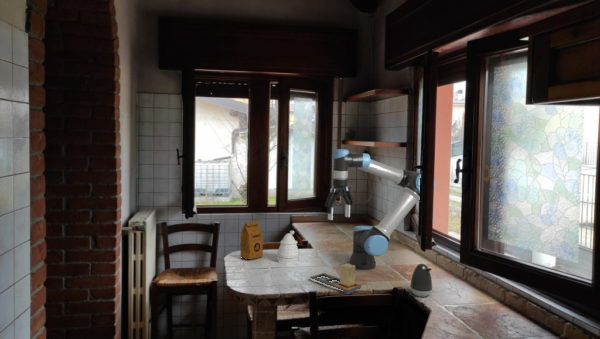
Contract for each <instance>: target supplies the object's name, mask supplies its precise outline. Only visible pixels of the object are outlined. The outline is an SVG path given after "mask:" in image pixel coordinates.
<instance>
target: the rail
mask: <svg viewBox="0 0 600 339" xmlns="http://www.w3.org/2000/svg"><path fill="white" fill-rule="evenodd" d="M321 276H325V277H328V278H329V279H323V278H321V279H320V278H317V277H321ZM311 278H312V279H315V280H317V281H320V282H322V283H325V284H327V285H330V286H333V287H336V288H338V289H341V290H343V291H344V293H343V294H346V295H348V294H353V293H355V292H356V291H355V290H357V289H360V288H361V289H362V285H361V284H358V283H357V282H355V286H353V287H350V288H346V287H343V286H340V283H335V282H333V283H331V282H329V281H332V280H337V281H339V282H340V277H337V276H333V275H331V274H328V273H326V272H323V273H320V274H316V275H313V276H310V279H311ZM354 291H355V292H354Z"/></svg>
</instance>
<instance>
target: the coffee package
mask: <svg viewBox="0 0 600 339" xmlns="http://www.w3.org/2000/svg"><path fill="white" fill-rule="evenodd" d="M259 225H260V221H259V220H256V221H251V222H245V223H244V225H243V228H241V229H242V230H241V234H240V258H241V257H242V258H241V259H243V258H245V259H244V260H247V259H251V260H255V259H254V258H257V259H259V258H258V257H261V258H263V256H264V250H263V246H264V245H263V244H264V240H263V236H262V232H261V229H260V226H259Z"/></svg>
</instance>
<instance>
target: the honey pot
mask: <svg viewBox="0 0 600 339" xmlns="http://www.w3.org/2000/svg"><path fill="white" fill-rule="evenodd" d="M294 234H295V231H294V230H289V233H286V234H285V235H284V236H283V238H282V239H281V240H280V245H279V247H278V250H277V255H276V257H277V260H278V261H280V262H285V263H294V262H298V261H299V262H300V252H299V248H298V245H297V244H298V241H297V240H295V237H294V236H293V235H294ZM277 260H276V261H277ZM299 262H298V263H299Z"/></svg>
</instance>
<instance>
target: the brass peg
mask: <svg viewBox="0 0 600 339" xmlns="http://www.w3.org/2000/svg"><path fill="white" fill-rule="evenodd" d="M339 271H340V274H339V276H340V277H339V278H340V286H343V287H346V288H350V287H353V286H355V283H356V282H355V279H356V278H355V277H356V268H355V265H352V264H349V262H348V263H343V264H340V270H339Z"/></svg>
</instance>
